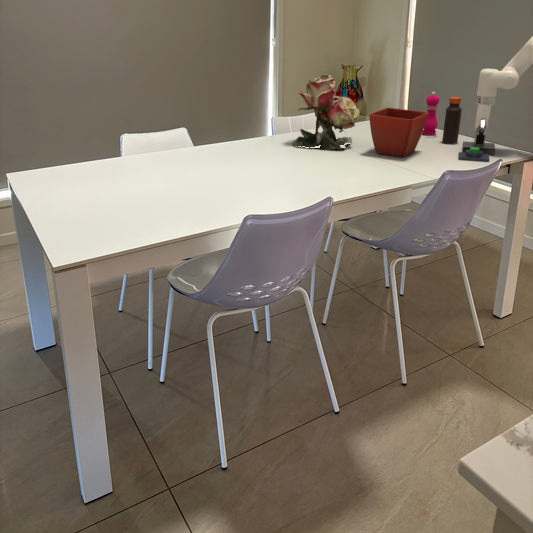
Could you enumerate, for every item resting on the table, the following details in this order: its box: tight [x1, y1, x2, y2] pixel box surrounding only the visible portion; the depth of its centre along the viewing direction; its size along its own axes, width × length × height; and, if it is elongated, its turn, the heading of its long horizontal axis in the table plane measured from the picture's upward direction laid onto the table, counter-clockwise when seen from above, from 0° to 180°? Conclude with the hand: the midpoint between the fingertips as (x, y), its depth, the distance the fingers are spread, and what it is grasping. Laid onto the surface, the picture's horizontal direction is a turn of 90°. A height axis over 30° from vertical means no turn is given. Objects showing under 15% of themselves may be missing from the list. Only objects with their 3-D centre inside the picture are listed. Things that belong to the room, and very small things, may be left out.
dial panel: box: [461, 141, 496, 156], centre depth 254 cm, size 13×10×3 cm
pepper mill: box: [421, 91, 440, 137], centre depth 281 cm, size 7×7×20 cm
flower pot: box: [369, 107, 428, 158], centre depth 250 cm, size 19×19×17 cm
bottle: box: [441, 96, 463, 145], centre depth 265 cm, size 7×7×20 cm
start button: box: [470, 147, 479, 153], centre depth 243 cm, size 4×4×2 cm
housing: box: [457, 150, 490, 163], centre depth 244 cm, size 12×9×3 cm
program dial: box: [473, 131, 487, 146], centre depth 252 cm, size 4×4×5 cm
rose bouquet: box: [292, 73, 361, 151], centre depth 264 cm, size 26×29×30 cm
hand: (479, 142), depth 252 cm, fingers open, 7 cm apart
